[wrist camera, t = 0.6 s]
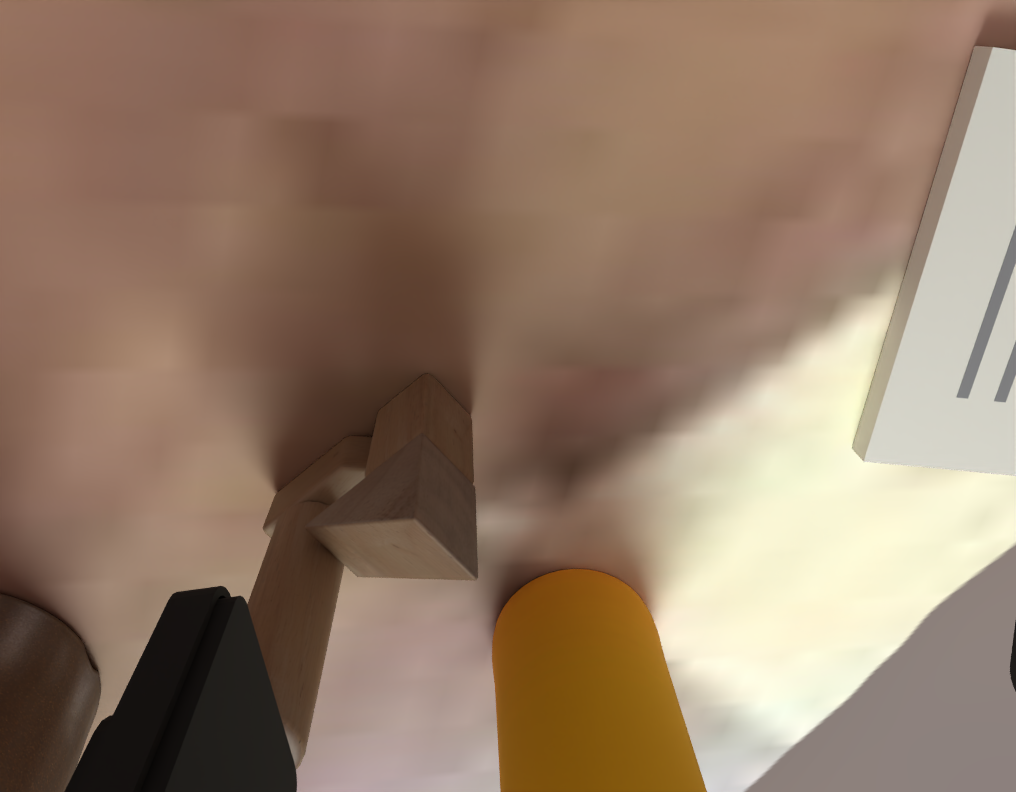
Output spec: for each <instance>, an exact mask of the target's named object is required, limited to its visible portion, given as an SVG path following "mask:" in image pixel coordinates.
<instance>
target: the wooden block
mask: <svg viewBox="0 0 1016 792" xmlns="http://www.w3.org/2000/svg"><path fill="white" fill-rule="evenodd" d="M473 482H474V471H473V437H472V419H471V416H470V415H469V414H468V413H467V412H466V411H465V410H464V409H463V408H462V407H461V406H460V404H459V403H458V402H457V401H456V400H455V399H454V398H453V397H452V396H451V395H450V394H449V393H448V392H447V391H446V390H445V389H444V388H443V387H442V385H441V384H440V383H439V382H438V381H437V380H436V379H435V378H434V377H433V376H432V375H430V374H428V373H427V374H425V375H422V376H421V377H419V378H418V379H417V380H416V381H414V382H413V383H412V384H411V385H410V386H408V387H407V388H406V389H405V390H403V391H402V392H401V393H400V394H398V395H397V396H396V397H395V398H393V399H392V400H391V401H390V402H389V403H387V404H386V405H385V406H384V407H382V408H381V409H380V410H379V411H378V413H377V417H376V422H375V426H374V431H373V436H372V437H363V436H348V437H346V438H344V439H343V440H342V441H341V442H339V443H338V444H337V445H336V446H334V447H333V448H332V449H331V450H330V451H328V452H327V453H326V454H325V455H323V456H322V457H321V458H320V459H318V460H317V461H316V462H315V463H313V464H312V465H311V466H310V467H308V468H307V469H306V470H305V471H304V472H302V473H301V474H300V475H299V476H297V477H296V478H295V479H294V480H292V481H291V482H290V483H289V484H287V485H286V486H285V487H284V488H283V489H281V490H280V491H279V492H278V493H276V495H275V497H274V499H273V502H272V505H271V507H270V510H269V513H268V515H267V518H266V520H265V523H264V526H263V530H264V532H265V533H266V534H267V535H268V536H269V537H271V540H270V543H269V546H268V549H267V551H266V554H265V557H264V560H263V563H262V565H261V568H260V571H259V574H258V577H257V579H256V582H255V585H254V588H253V591H252V593H251V596H250V599H249V602H248V605H247V606H248V609H249V612H250V615H251V619H252V622H253V625H254V629H255V632H256V635H257V639H258V642H259V646H260V649H261V652H262V656H263V659H264V662H265V666H266V669H267V672H268V676H269V679H270V682H271V686H272V689H273V693H274V696H275V699H276V703H277V706H278V709H279V713H280V716H281V719H282V723H283V726H284V729H285V733H286V736H287V740H288V743H289V746H290V750H291V753H292V756H293V760H294V764H295V768H296V769H297V768H298V767H299V766H300V764H301V762H302V759H303V757H304V755H305V751H306V746H307V742H308V737H309V732H310V727H311V723H312V718H313V713H314V708H315V703H316V699H317V694H318V689H319V684H320V679H321V675H322V670H323V665H324V660H325V655H326V651H327V646H328V641H329V636H330V631H331V627H332V622H333V617H334V612H335V607H336V603H337V598H338V593H339V588H340V583H341V579H342V574H343V569H344V565H345V566H346V567H347V568H348V569H349V570H350V571H352V572H353V573H354V574H355V575H356V576H357V577H375V578H410V579H444V580H476V579H477V578H478V558H477V526H476V493H475V487H474V485H473Z"/></svg>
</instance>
